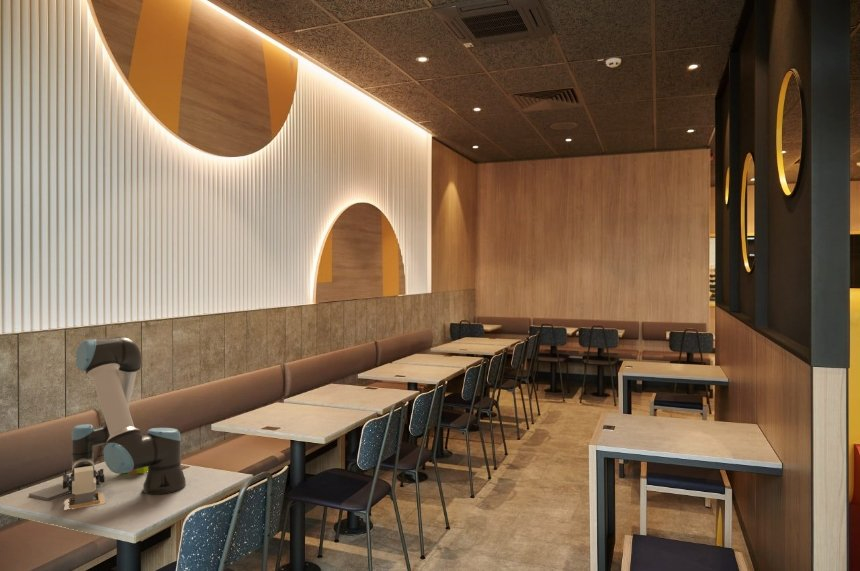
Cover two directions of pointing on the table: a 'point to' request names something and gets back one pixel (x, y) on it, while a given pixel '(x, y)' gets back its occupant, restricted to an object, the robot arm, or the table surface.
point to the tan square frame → (87, 504)
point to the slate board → (50, 492)
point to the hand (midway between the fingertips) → (84, 488)
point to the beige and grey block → (84, 484)
